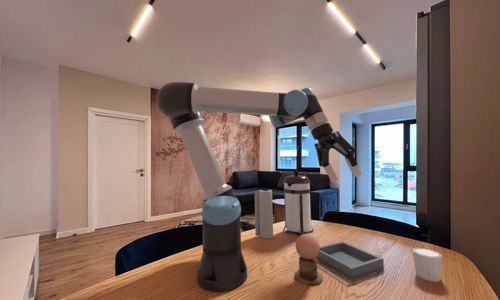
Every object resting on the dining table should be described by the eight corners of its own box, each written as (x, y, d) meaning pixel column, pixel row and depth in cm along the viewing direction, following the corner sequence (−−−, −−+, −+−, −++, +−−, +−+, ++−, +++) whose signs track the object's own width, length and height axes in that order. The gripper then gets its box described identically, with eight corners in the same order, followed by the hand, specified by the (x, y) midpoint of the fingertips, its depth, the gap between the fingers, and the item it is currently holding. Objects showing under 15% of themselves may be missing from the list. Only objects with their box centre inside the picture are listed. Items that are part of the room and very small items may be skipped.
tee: (306, 288, 58) (305, 265, 59) (289, 274, 66) (288, 253, 66) (328, 281, 62) (327, 259, 62) (310, 268, 69) (309, 249, 69)
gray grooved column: (275, 236, 98) (274, 189, 99) (267, 240, 94) (266, 191, 95) (263, 233, 103) (262, 188, 104) (255, 236, 99) (254, 190, 100)
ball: (306, 265, 59) (305, 240, 60) (291, 255, 66) (290, 232, 66) (325, 260, 62) (324, 236, 63) (309, 251, 69) (308, 229, 69)
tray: (352, 281, 61) (351, 268, 62) (314, 258, 76) (313, 248, 76) (383, 269, 67) (383, 258, 67) (342, 250, 82) (342, 241, 82)
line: (347, 285, 59) (347, 285, 59) (301, 256, 77) (301, 256, 77) (350, 284, 60) (350, 283, 60) (304, 256, 78) (304, 255, 78)
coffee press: (320, 237, 96) (318, 170, 98) (285, 237, 96) (283, 171, 98) (310, 225, 114) (308, 168, 115) (280, 225, 114) (278, 169, 115)
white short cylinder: (446, 285, 58) (444, 259, 59) (414, 278, 62) (413, 254, 62) (440, 273, 64) (439, 250, 65) (412, 268, 68) (411, 245, 68)
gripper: (347, 108, 70) (379, 168, 66) (312, 134, 94) (334, 179, 90) (328, 115, 68) (360, 177, 64) (298, 140, 92) (320, 186, 88)
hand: (345, 178), depth 77 cm, fingers open, 13 cm apart
